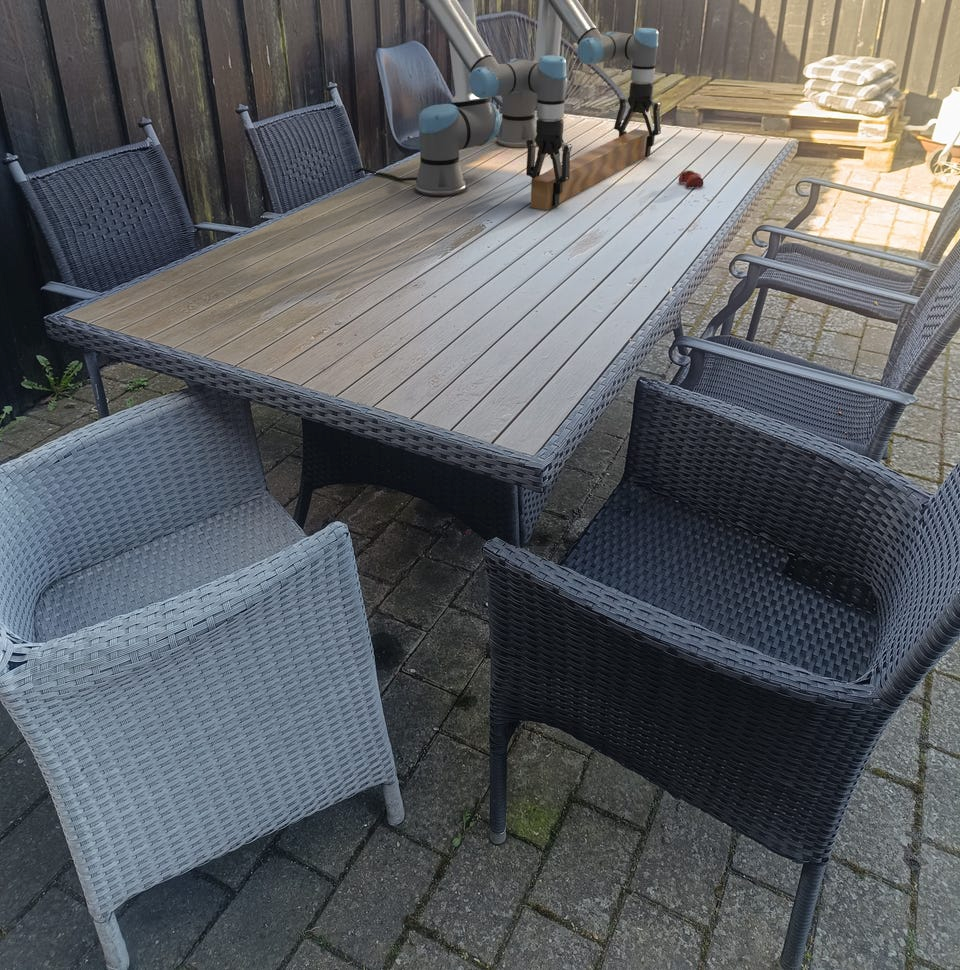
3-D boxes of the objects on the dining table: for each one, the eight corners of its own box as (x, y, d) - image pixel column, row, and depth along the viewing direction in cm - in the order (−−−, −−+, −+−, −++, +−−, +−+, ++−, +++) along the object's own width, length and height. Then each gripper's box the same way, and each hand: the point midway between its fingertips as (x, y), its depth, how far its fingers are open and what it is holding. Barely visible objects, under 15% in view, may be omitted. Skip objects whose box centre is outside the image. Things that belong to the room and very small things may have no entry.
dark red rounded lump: (694, 166, 263) (706, 173, 257) (693, 180, 266) (704, 187, 260) (677, 168, 262) (689, 175, 256) (676, 182, 265) (687, 189, 259)
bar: (546, 210, 242) (548, 182, 238) (530, 207, 245) (531, 179, 240) (647, 155, 291) (649, 131, 286) (632, 153, 293) (635, 129, 289)
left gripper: (586, 120, 231) (580, 205, 245) (528, 112, 239) (525, 194, 253) (573, 125, 226) (568, 212, 240) (514, 117, 234) (512, 201, 248)
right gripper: (677, 83, 273) (668, 156, 286) (617, 76, 282) (611, 147, 296) (668, 87, 268) (659, 161, 281) (607, 80, 277) (601, 152, 290)
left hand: (546, 203), depth 246 cm, fingers closed on bar, 5 cm apart
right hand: (634, 153), depth 288 cm, fingers open, 9 cm apart
